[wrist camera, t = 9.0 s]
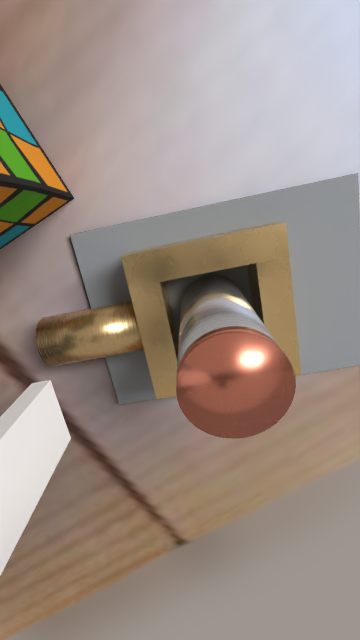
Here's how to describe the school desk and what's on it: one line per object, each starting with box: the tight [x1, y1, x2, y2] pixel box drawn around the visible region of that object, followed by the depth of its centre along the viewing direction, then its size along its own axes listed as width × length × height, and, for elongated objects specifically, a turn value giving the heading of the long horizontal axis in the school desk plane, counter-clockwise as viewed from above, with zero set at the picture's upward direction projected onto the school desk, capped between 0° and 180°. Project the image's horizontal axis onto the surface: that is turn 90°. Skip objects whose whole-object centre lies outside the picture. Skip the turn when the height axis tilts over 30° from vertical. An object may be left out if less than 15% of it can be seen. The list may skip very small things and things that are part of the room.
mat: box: [70, 173, 360, 405], centre depth 24 cm, size 20×14×1 cm
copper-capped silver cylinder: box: [176, 275, 296, 438], centre depth 18 cm, size 5×5×12 cm
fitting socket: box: [36, 222, 301, 399], centre depth 22 cm, size 17×10×4 cm, turn 101°
